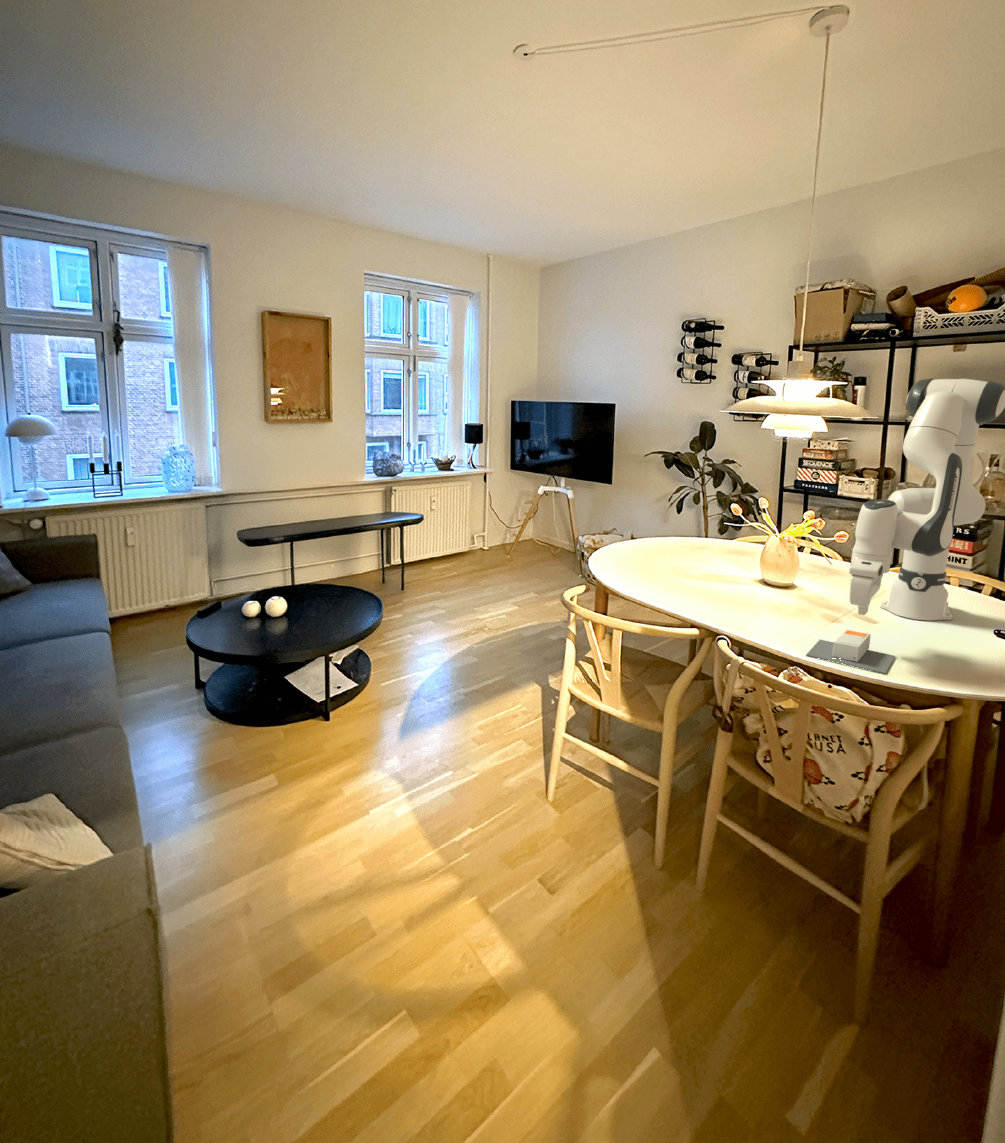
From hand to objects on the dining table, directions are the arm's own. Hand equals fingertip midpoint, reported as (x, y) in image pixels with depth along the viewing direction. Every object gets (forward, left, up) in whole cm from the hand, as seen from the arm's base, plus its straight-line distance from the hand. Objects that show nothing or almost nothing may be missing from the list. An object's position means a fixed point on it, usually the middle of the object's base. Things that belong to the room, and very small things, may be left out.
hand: (862, 613), depth 164 cm
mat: (+7, 0, -10) cm, 12 cm away
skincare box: (0, 0, -7) cm, 7 cm away
